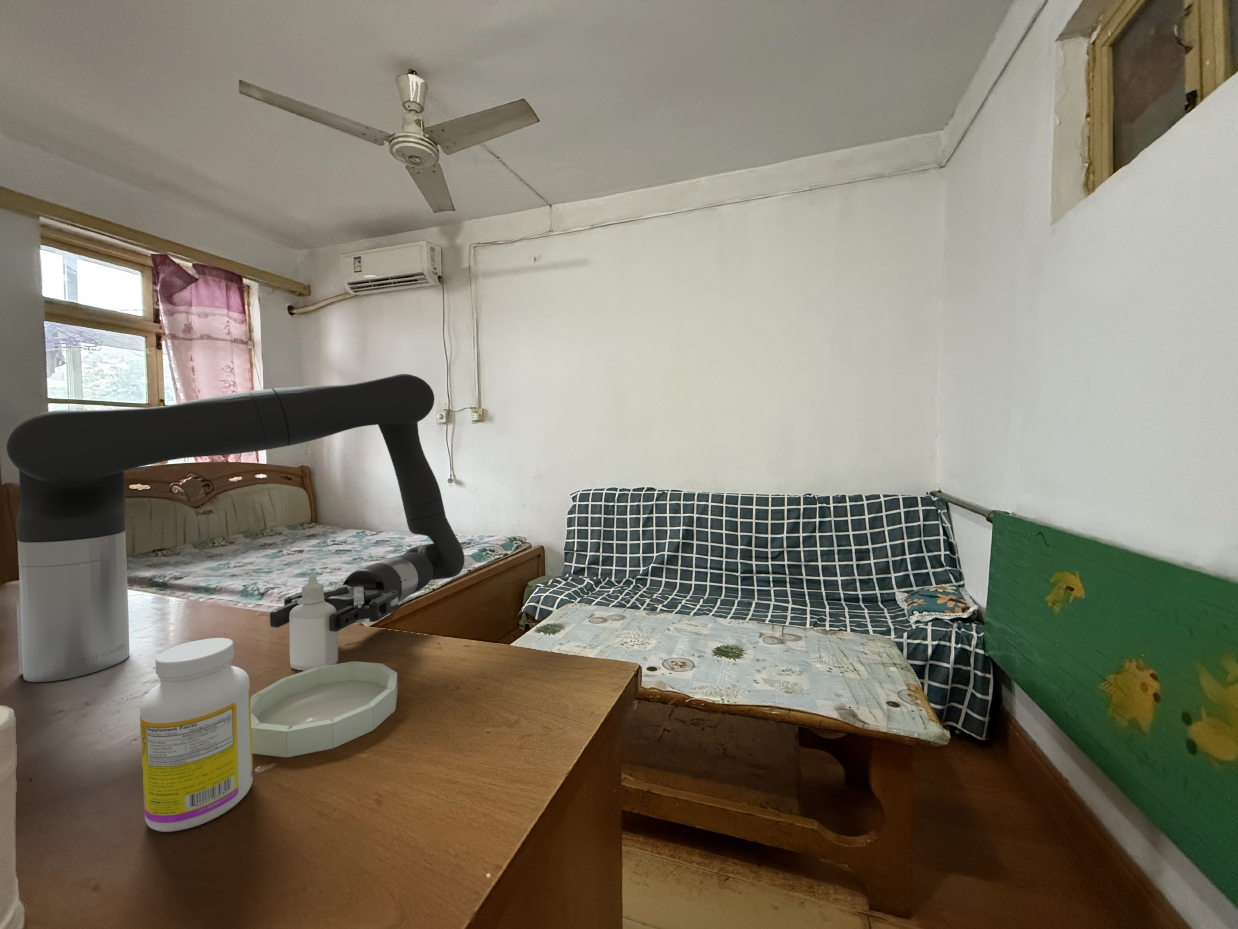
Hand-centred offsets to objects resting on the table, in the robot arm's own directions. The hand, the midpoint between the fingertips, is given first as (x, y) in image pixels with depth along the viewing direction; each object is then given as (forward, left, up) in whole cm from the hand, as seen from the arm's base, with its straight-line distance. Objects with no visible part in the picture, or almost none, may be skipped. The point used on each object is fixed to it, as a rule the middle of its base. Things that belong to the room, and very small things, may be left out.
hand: (301, 622), depth 61 cm
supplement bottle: (+10, -21, -7) cm, 24 cm away
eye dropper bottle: (0, +2, -7) cm, 7 cm away
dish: (+10, -8, -7) cm, 14 cm away
